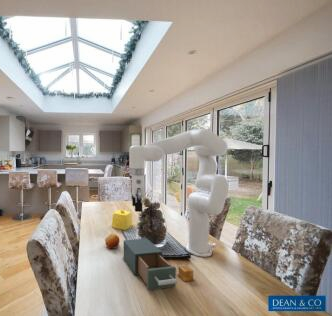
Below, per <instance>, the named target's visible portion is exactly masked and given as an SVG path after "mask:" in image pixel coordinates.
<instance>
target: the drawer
mask: <svg viewBox="0 0 332 316" xmlns="http://www.w3.org/2000/svg"><path fill="white" fill-rule="evenodd" d="M137 272H138V273H139V274H140V275H139V276H140V278H142V280H143V282H144V283H145V284H146V289H147V290H148V291H151V290H157V289H164V288H165V289H166V288H173V287H176V286H177V285H176V284H178V279H177V278H176V277H177V267H176V266H174V265H172V266H171V264H170V263H169V262H168V261H167V260H166V259H165V258H164V257H163V255H162V256H160V255H159V254H151V255H141V256H137Z"/></svg>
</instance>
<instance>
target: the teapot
mask: <svg viewBox="0 0 332 316" xmlns="http://www.w3.org/2000/svg"><path fill="white" fill-rule="evenodd" d="M132 215H133V214H132V212H131V211H129V210H125V209H118V210H116V211H115V212H113V214H112V220H111V227H112V228H114V229H117V230H124V231H126V230H129V228H131V227H132V225H133V216H132Z"/></svg>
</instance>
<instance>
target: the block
mask: <svg viewBox="0 0 332 316" xmlns="http://www.w3.org/2000/svg"><path fill="white" fill-rule="evenodd" d="M178 277H179V278H180V279H182V280H183V282H189V281H194V270H193V269H192V268H191V267H189V266H188V265H179V266H178Z"/></svg>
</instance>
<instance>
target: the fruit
mask: <svg viewBox="0 0 332 316" xmlns="http://www.w3.org/2000/svg"><path fill="white" fill-rule="evenodd" d="M104 241H105V245H106V247H107V248H109V249H118V246H120V237H119V235H118V234H116V233H110V234H108V235H107V236H106V237H105V239H104Z"/></svg>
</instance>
